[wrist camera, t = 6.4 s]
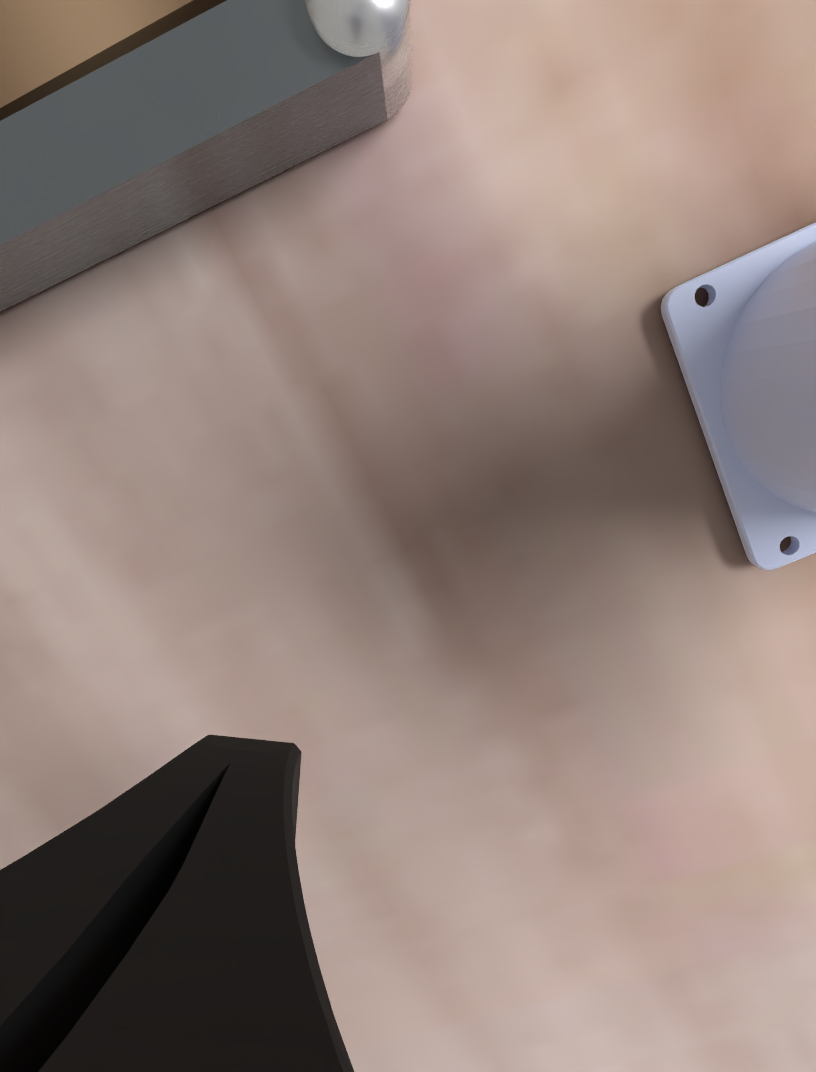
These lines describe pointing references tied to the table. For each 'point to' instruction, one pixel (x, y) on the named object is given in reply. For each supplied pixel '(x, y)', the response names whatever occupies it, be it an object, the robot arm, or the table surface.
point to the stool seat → (75, 40)
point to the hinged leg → (190, 127)
